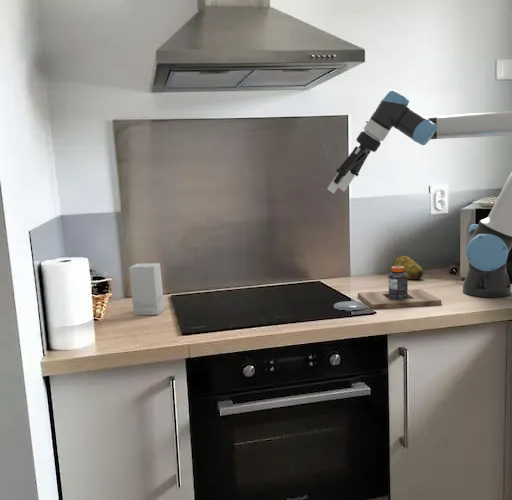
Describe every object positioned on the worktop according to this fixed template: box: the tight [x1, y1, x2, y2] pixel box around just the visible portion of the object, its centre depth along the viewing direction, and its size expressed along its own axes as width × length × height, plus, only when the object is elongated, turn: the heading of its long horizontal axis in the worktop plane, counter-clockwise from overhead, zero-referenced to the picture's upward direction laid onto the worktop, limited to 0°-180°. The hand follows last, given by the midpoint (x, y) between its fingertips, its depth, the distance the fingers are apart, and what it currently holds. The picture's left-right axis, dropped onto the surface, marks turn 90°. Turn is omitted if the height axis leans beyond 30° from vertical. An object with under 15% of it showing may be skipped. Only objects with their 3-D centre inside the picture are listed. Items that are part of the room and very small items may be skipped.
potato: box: [393, 255, 424, 280], centre depth 217 cm, size 8×13×8 cm, turn 11°
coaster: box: [333, 300, 367, 312], centre depth 177 cm, size 10×10×1 cm
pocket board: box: [357, 288, 442, 310], centre depth 182 cm, size 22×16×2 cm
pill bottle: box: [388, 265, 409, 300], centre depth 182 cm, size 6×6×11 cm
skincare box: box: [128, 262, 165, 316], centre depth 178 cm, size 8×7×16 cm
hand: (335, 190), depth 190 cm, fingers open, 13 cm apart
